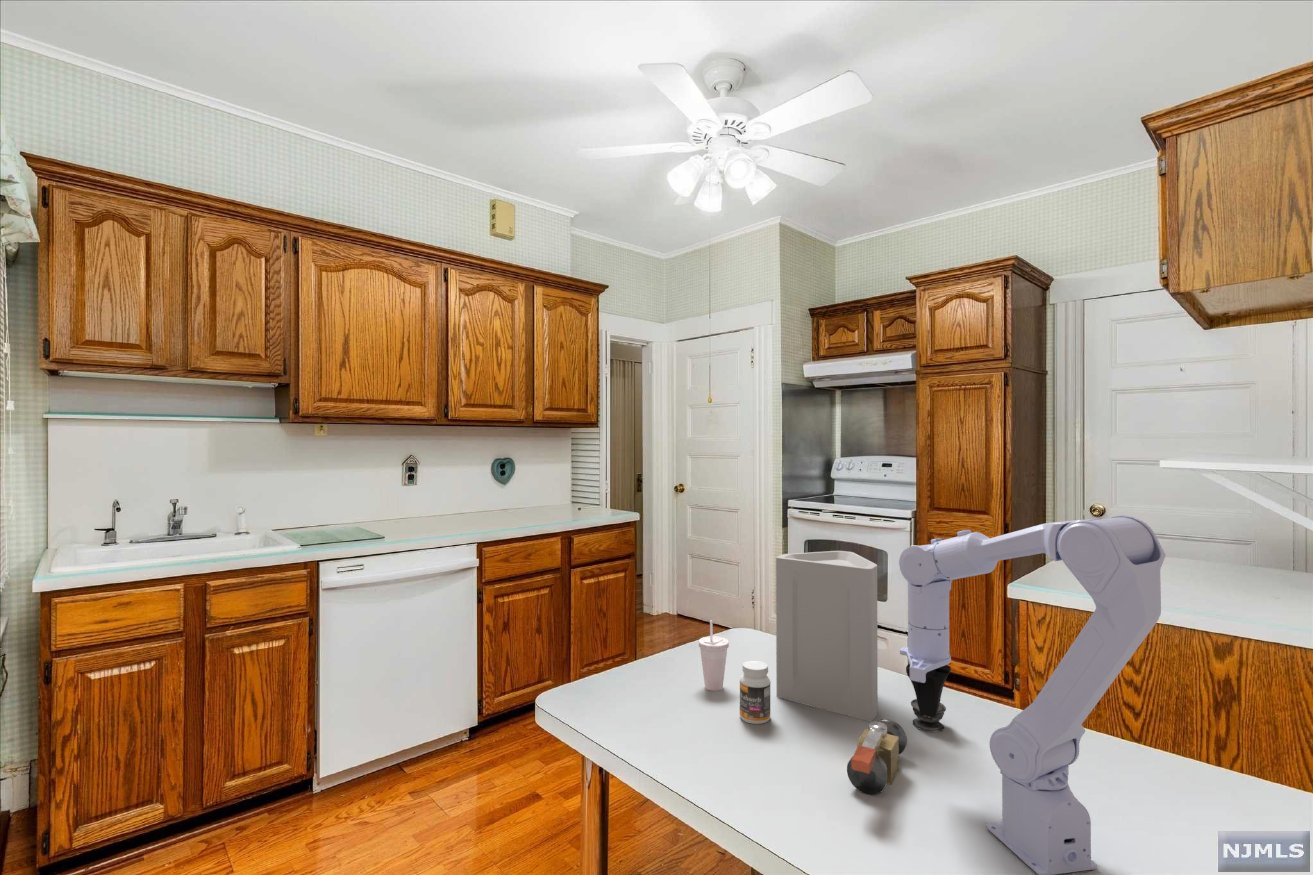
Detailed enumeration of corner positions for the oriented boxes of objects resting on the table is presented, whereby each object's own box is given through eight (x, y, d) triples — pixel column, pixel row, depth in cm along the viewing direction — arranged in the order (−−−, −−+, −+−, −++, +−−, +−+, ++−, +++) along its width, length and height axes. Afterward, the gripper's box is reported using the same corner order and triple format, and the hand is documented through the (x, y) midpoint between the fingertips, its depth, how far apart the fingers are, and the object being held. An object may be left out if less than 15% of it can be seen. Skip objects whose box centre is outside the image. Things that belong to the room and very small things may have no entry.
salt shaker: (950, 734, 108) (949, 666, 108) (914, 731, 109) (914, 663, 109) (941, 719, 114) (941, 654, 114) (907, 716, 115) (907, 652, 115)
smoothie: (693, 684, 130) (692, 618, 130) (719, 678, 133) (719, 614, 133) (708, 695, 124) (707, 626, 124) (735, 689, 127) (734, 622, 127)
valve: (885, 800, 88) (885, 761, 88) (846, 788, 92) (846, 750, 92) (906, 757, 100) (906, 723, 100) (871, 748, 103) (871, 714, 103)
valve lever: (871, 729, 98) (871, 720, 98) (888, 732, 96) (888, 724, 96) (850, 768, 86) (850, 758, 86) (870, 773, 85) (870, 763, 85)
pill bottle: (735, 721, 113) (735, 667, 113) (745, 708, 118) (745, 657, 118) (765, 727, 111) (764, 672, 111) (774, 715, 116) (774, 662, 116)
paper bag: (893, 693, 125) (892, 556, 125) (871, 721, 113) (870, 569, 113) (803, 673, 136) (803, 546, 136) (774, 696, 124) (774, 557, 124)
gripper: (912, 608, 101) (912, 691, 101) (887, 631, 89) (887, 725, 89) (959, 616, 97) (959, 702, 97) (940, 641, 85) (940, 739, 85)
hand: (928, 714), depth 93 cm, fingers closed
